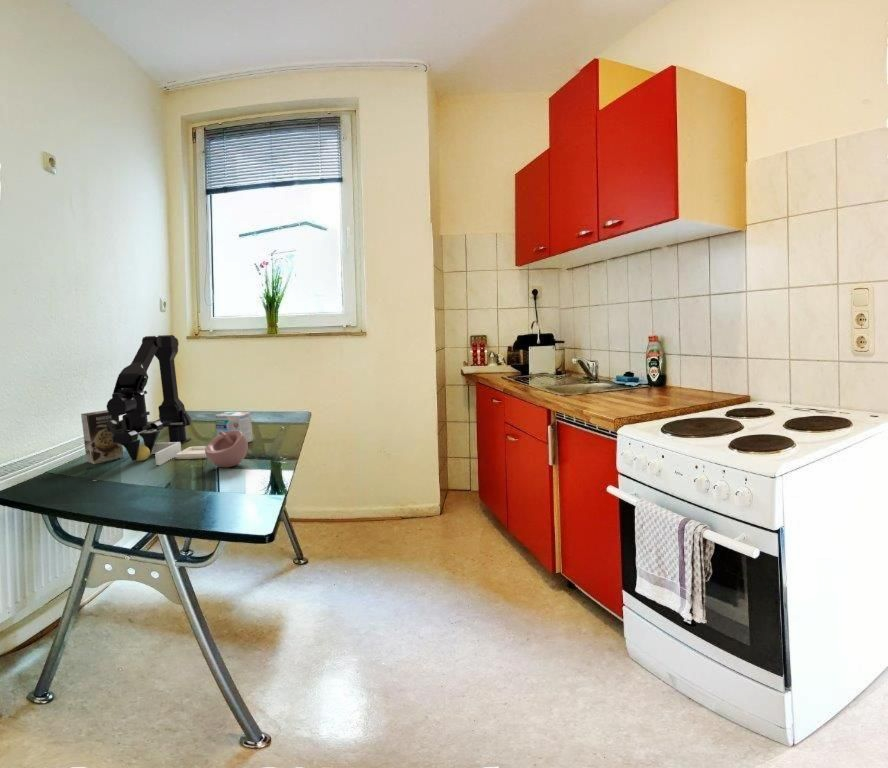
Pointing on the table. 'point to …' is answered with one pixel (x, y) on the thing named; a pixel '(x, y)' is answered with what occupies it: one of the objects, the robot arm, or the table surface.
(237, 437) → the pink slanted bowl
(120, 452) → the brown upright rectangular box
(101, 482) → the table surface
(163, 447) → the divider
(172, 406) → the robot arm
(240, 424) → the light bulb box
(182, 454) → the tray
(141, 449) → the ball
